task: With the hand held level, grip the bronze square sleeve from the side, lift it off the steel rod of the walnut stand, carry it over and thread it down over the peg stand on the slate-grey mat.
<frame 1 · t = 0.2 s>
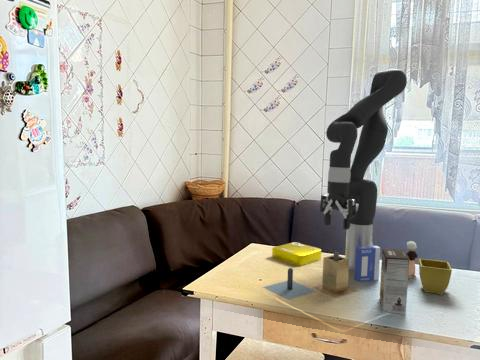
hand: (336, 227, 145), 17 cm above the table, tool pointing down, fingers open, 8 cm apart
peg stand: (289, 290, 132), on the table
coffee box: (392, 307, 120), on the table
element tile: (296, 259, 166), on the table
bronze sleeve: (334, 289, 132), resting on walnut stand
flower pot: (432, 291, 133), on the table
walnut stand: (334, 290, 133), on the table
grandmother figurine: (409, 277, 147), on the table
walkman: (366, 281, 142), on the table
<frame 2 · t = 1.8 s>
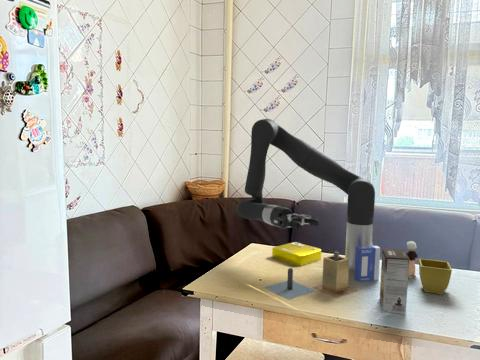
hand: (309, 224, 140), 19 cm above the table, tool horizontal, fingers open, 8 cm apart
nothing on the table moved.
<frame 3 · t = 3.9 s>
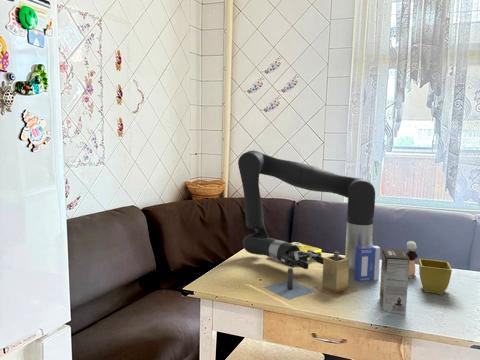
hand: (316, 263, 138), 6 cm above the table, tool horizontal, fingers open, 8 cm apart
nothing on the table moved.
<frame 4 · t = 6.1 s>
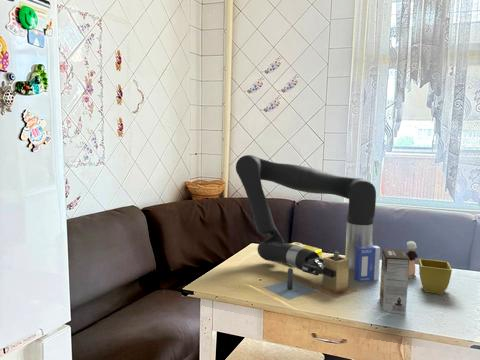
hand: (340, 272, 130), 6 cm above the table, tool horizontal, fingers closed on bronze sleeve, 5 cm apart
bronze sleeve: (334, 289, 132), resting on walnut stand, touching gripper
everything else where it was.
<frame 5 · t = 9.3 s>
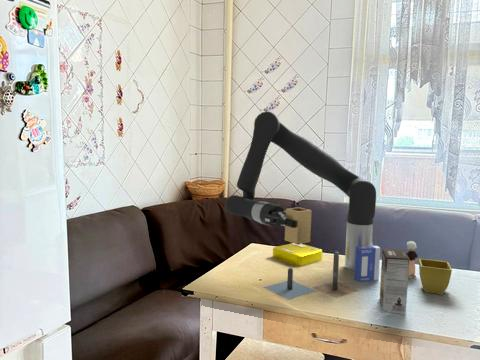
hand: (302, 223, 128), 22 cm above the table, tool horizontal, fingers closed on bronze sleeve, 5 cm apart
bronze sleeve: (297, 241, 130), point 16 cm above the table, touching gripper
everything else where it was.
when the fingers open (7 cm above the table, at t = 12.5 s): bronze sleeve drops 1 cm, resting on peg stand.
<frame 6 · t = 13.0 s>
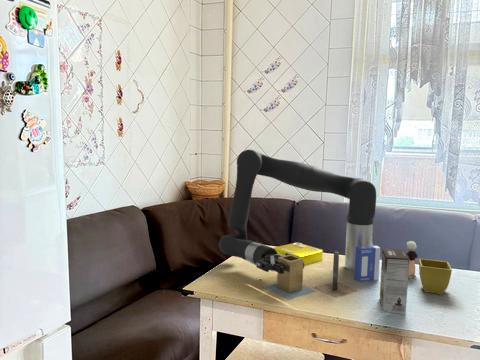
hand: (293, 268, 130), 8 cm above the table, tool horizontal, fingers open, 8 cm apart
bronze sleeve: (289, 288, 132), resting on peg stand
everything else where it was.
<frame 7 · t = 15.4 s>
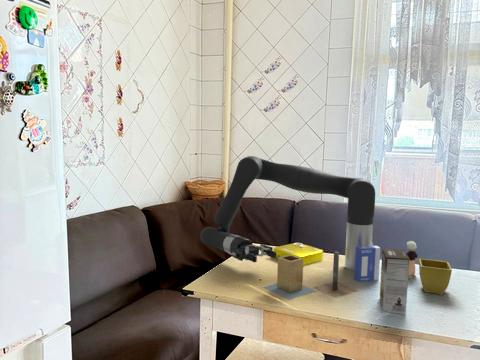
hand: (265, 257, 141), 8 cm above the table, tool horizontal, fingers open, 8 cm apart
nothing on the table moved.
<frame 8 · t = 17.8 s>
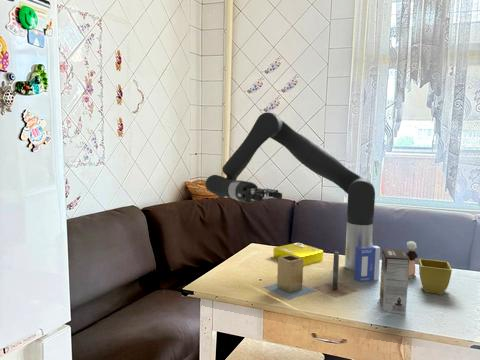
hand: (271, 197, 140), 28 cm above the table, tool horizontal, fingers open, 8 cm apart
at the end: bronze sleeve 0.1 cm off-centre on the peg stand, point 0.4 cm above the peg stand's base; bronze sleeve tilted 0°; the gripper is holding nothing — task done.
